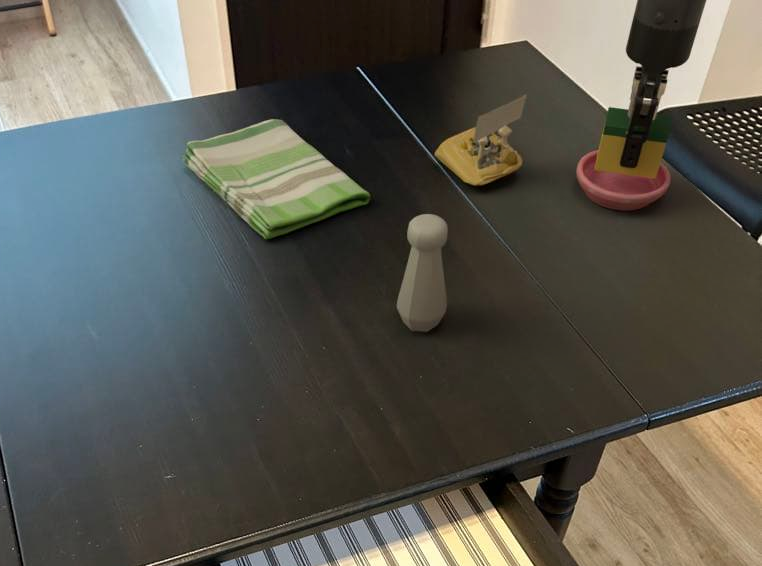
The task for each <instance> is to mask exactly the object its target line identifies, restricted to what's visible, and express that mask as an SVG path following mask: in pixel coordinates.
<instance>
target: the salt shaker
mask: <svg viewBox="0 0 762 566" xmlns="http://www.w3.org/2000/svg"><path fill="white" fill-rule="evenodd" d="M448 232H449V229H448V224H447V222H446V221H445V220H444V219H443V217H440V216H438V215H437V214H432V213H424V214H423V213H422V214H420V215H416V216H415V217H413V218H412V219H411V220H410V221H409V223H408V227H407V231H406V233H407V235H406V237H407V241H408V243H409V245H410V246H411V248H410V252H409V255H408V258H407V259H408V261H407V262H406V263H407V264H406V267H405V271H404V275H403V279H402V281H401V282H402V283H401V286H400V290H399V294H398V297H397V301H396V309H397V311H398V313H399V316H400V318H401V320H402V323H404V324H405V325H406V327H408V328H409V330H410V331H413V332H425V333H428V332H429V331H430V330H432V329H434V328H435V327H437V326H438V325H439V323H440V322H441V320H442V319H443V317H444V316H445V314H446V312H447V307H448V299H447V292H446V284H445V274H444V267H443V265H444V264H443V255H442V248H443V247H444V246H445V245H446V243H447V240H448Z"/></svg>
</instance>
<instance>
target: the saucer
mask: <svg viewBox="0 0 762 566" xmlns="http://www.w3.org/2000/svg"><path fill="white" fill-rule="evenodd" d="M598 150H599V149H596V150H592V151H590V152H588V153H587V154H585V155H584V156H582V157H581V158H580V160H579V161H578V162H577V167H576V171H575V172H576V179H577V181H578V183H579V186H580V187H581V188H582V190H583V191H584V194H585V195H586V196H587V198H589V199H590V200H591V201H592V202H594V203H595V204H597V205H599V206H601V207H603V208H607V209H610V210H615V211H635V210H640V209H642V208H645V207H647V206H649V205H650V204H651V203H654V202H656V201H657V200H659V198H661V197H662V196H664V195H665V193H666V192H667V191H668V190H669V186H670V184H671V179H672V178H671V174H670V171H669V169H668V168H667V167H666V165H664V163H663V162H661V163H660V166H659V170H658V173H657V176H656V179H653V178H646V177H639V176H632V175H625V174H618V173H611V172H604V171H597V170H594V169H595V164H596V159H597V155H598Z"/></svg>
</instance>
